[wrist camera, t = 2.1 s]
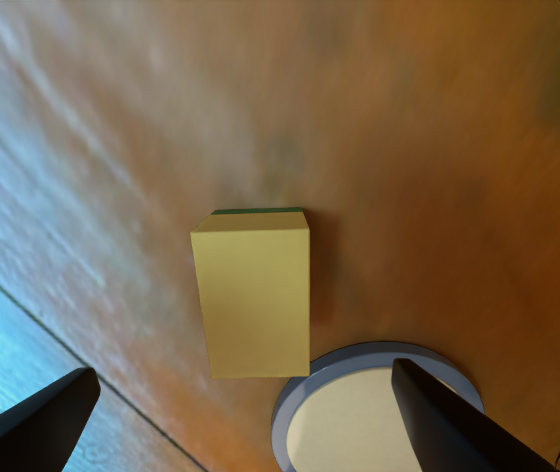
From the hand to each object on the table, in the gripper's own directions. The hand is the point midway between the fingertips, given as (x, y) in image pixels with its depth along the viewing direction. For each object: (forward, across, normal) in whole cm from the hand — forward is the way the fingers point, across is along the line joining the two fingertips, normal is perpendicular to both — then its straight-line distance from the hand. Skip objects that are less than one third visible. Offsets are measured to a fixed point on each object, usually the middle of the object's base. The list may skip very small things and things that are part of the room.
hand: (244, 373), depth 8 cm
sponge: (+7, 0, 0) cm, 7 cm away
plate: (+7, -7, +12) cm, 16 cm away
